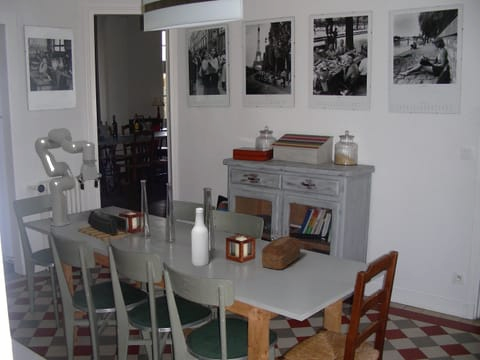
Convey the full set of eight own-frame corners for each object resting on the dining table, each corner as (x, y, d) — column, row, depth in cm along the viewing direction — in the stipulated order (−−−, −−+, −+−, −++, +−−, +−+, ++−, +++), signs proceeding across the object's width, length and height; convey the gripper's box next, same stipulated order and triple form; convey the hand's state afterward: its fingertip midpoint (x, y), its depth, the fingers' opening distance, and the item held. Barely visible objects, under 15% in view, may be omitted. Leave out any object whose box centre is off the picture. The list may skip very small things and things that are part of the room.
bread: (303, 257, 300) (304, 235, 298) (282, 272, 276) (282, 249, 274) (281, 253, 307) (281, 232, 304) (258, 268, 282) (258, 245, 280)
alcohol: (208, 260, 293) (208, 206, 288) (208, 266, 284) (207, 210, 279) (192, 261, 293) (191, 206, 287) (191, 266, 284) (190, 210, 279)
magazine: (119, 221, 332) (94, 200, 351) (114, 222, 330) (89, 201, 348) (116, 246, 339) (91, 223, 357) (111, 247, 336) (87, 224, 355)
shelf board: (77, 230, 352) (77, 228, 352) (102, 225, 364) (101, 223, 364) (105, 241, 328) (105, 239, 328) (130, 235, 341) (130, 233, 340)
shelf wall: (100, 224, 361) (100, 211, 360) (102, 224, 362) (101, 210, 360) (126, 233, 340) (125, 219, 339) (127, 232, 341) (127, 218, 340)
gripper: (97, 159, 350) (98, 185, 353) (73, 162, 337) (73, 189, 341) (104, 161, 344) (104, 188, 348) (79, 164, 332) (79, 191, 336)
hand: (89, 188), depth 345 cm, fingers open, 9 cm apart
